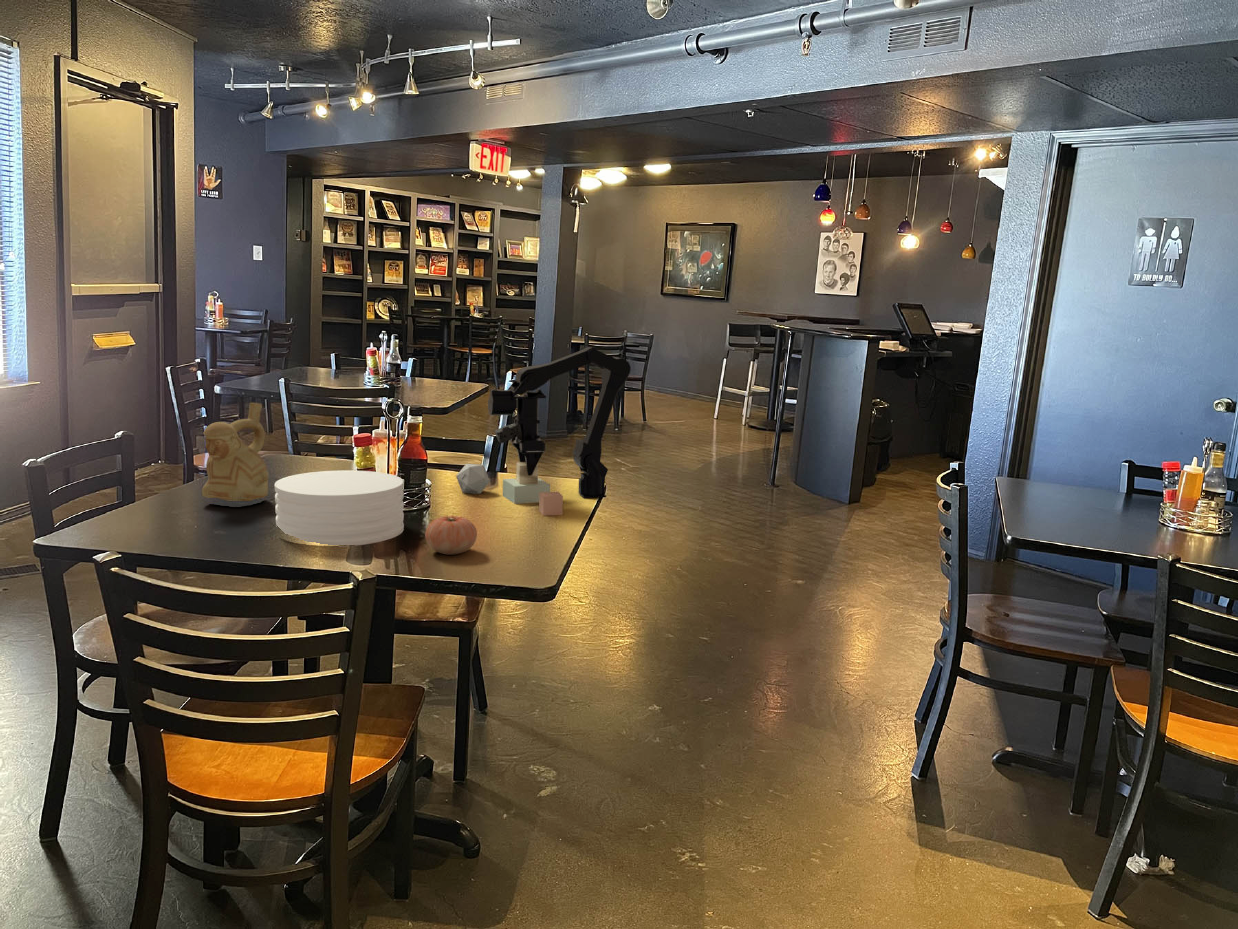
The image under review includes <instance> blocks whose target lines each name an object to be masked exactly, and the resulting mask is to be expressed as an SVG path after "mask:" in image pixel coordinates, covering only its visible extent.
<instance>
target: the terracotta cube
mask: <svg viewBox="0 0 1238 929" xmlns="http://www.w3.org/2000/svg"><path fill="white" fill-rule="evenodd" d="M563 499H564V496H563V495H562V493H561V492H560V491H550V492H539V502H538V512H539V513H541V515H542V516H562V515H563V508H564V507H563V506H564V505H563V504H564V503H563V502H564V500H563Z"/></svg>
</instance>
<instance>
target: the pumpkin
mask: <svg viewBox="0 0 1238 929" xmlns="http://www.w3.org/2000/svg"><path fill="white" fill-rule="evenodd" d="M477 531H478V530H477V528H476V526H475V525H474V523H473V522H472V521H470V520H469V519H468V518H465V517H462V516H458V515H456V516H454V515H451V516H448V515H446V516H441V517H438V518H435V519H433V520H432V521H431V522H430V523H429V524H428V525H427V527H426V530H425V533H424V535H425V536H424V537H425V541H426V543H427V544H428V546H429V547H430V548H431V549H432V550H433V551H435V552H436V553H440V554H443V555H449V556H450V555H453V556H454V555H459V554H462V553H465V552H466V551H468V550H470V549H471V548H472V547H473V546H474V545H475V543H476V541H477V538H478V536H477V535H478V532H477Z"/></svg>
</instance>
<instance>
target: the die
mask: <svg viewBox="0 0 1238 929" xmlns="http://www.w3.org/2000/svg"><path fill="white" fill-rule="evenodd" d="M455 477H456V479H457V483H458V485H459V487H460V489H461V492H462V494H463V493H464V494H475V495H481V493H482V492H483V491H484V490H485V488H486V487H487V486H488V485H489V484H490V482H491V481H490V478H489V476H488V473H487V471H486V467H485V465H484V464H475V463H474V464H473V463H465V465H464V466H463V467H462V468H461V469H460V471H459V472H458V473H457V474H456V476H455Z"/></svg>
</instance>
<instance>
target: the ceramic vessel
mask: <svg viewBox="0 0 1238 929" xmlns="http://www.w3.org/2000/svg"><path fill="white" fill-rule="evenodd" d="M262 408H263V404H261V403H259V402H258V403H257V402H249V408H248V416H247V418H242V419H237V420H235V421H232V422H231V423H228V422H225V421H216V422H213V423H210V424H209V425H208V426H206V427H205V429H204V431H203V433H202V434H203V435H204V440H205V450H206V451H207V453H208V455H209V457H208V459H207V460H206V464H205V466H206V467H205V469H206V474H207V476H208V479H207V481H206V483H205V484H204V485H203V487H202V488H201V496H202V497H203V496H204V497H207V498H219V499H223V500H227V501H251V500H254V499H259V498H263V497H265V496H267V497H268V495H269V494H268V493H269V472H268V468H267V464H266V462H265V461H264V459H263V458H262V456H260V454H259V453H260V451H261V450H262V448H263V447H264V443H265V440H266V439H265V438H266V434H265V433H266V432H265V429H264V427H263V425H262V423H261V422H260V418H261V412H262ZM244 429H250V430H252V431H253V434H254V437H253V441H252V442H251V444H250V445H247V444H245V442H244V441H242V439H241V438H240V437H239V434H238V432H240V431H241V430H244Z"/></svg>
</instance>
